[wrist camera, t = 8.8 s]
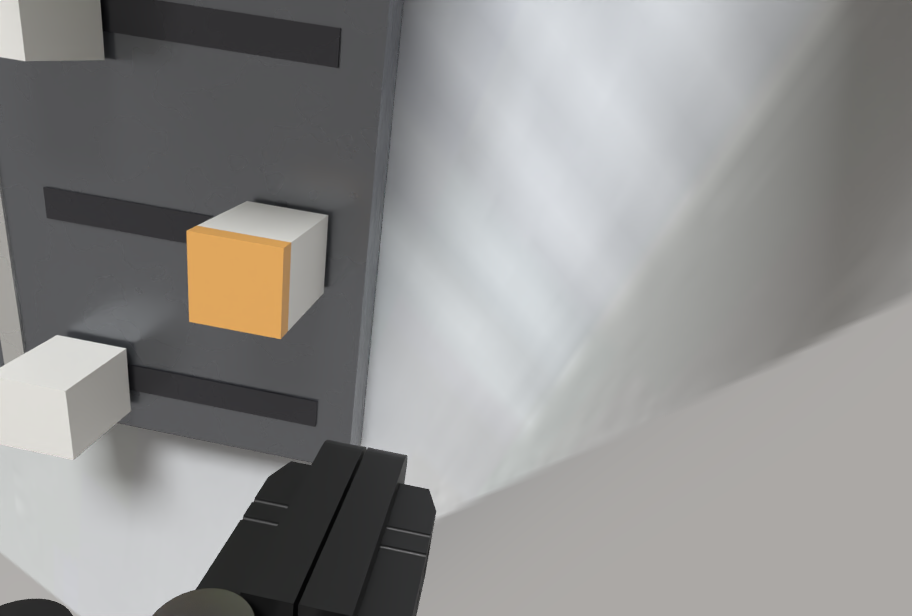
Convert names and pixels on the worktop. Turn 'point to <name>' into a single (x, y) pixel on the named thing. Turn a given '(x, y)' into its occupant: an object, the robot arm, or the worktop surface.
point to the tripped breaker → (256, 268)
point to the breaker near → (51, 30)
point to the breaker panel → (202, 204)
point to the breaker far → (63, 396)
